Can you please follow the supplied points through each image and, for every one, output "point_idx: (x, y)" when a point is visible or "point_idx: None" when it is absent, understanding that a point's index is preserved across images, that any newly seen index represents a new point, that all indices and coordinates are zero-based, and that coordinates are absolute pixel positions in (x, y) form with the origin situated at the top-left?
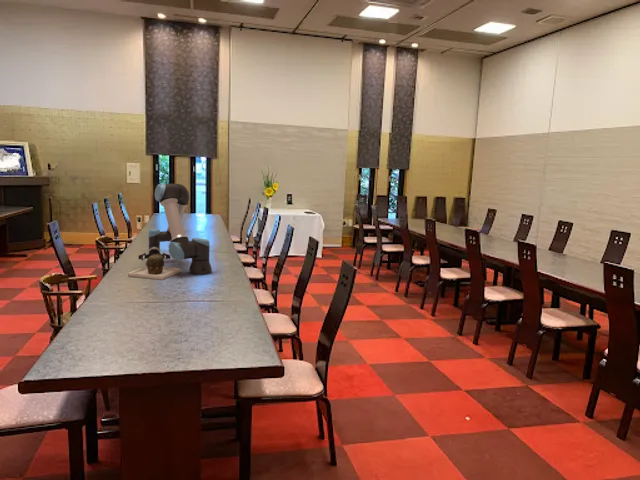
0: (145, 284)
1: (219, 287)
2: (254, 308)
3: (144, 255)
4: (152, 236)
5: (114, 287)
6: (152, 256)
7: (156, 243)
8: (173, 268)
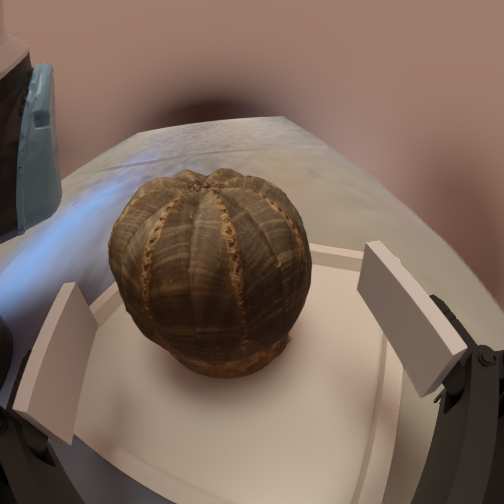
0: None
1: None
2: (82, 166)
3: (474, 398)
4: None
5: (343, 184)
6: (233, 173)
7: None
8: None
